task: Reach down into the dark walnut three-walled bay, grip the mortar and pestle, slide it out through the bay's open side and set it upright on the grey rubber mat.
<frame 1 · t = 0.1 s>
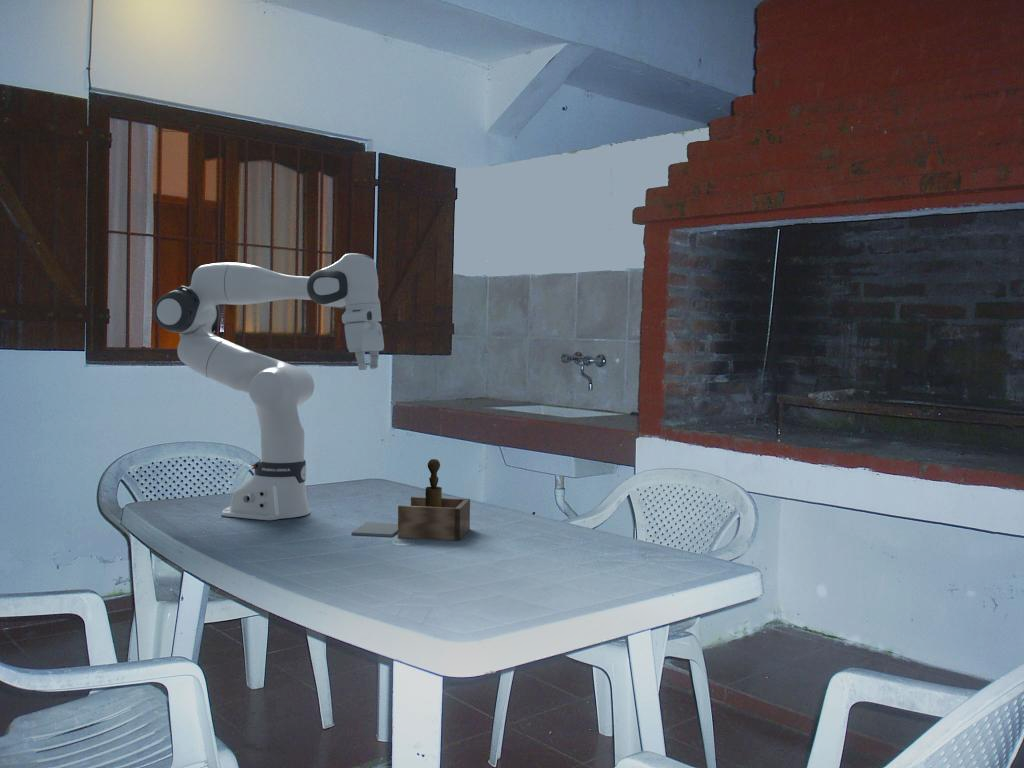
hand: (368, 369, 229), 39 cm above the table, tool pointing down, fingers open, 8 cm apart
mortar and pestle: (432, 534, 214), resting in walnut bay
walnut bay: (433, 533, 214), on the table
grey rubber mat: (379, 530, 216), on the table
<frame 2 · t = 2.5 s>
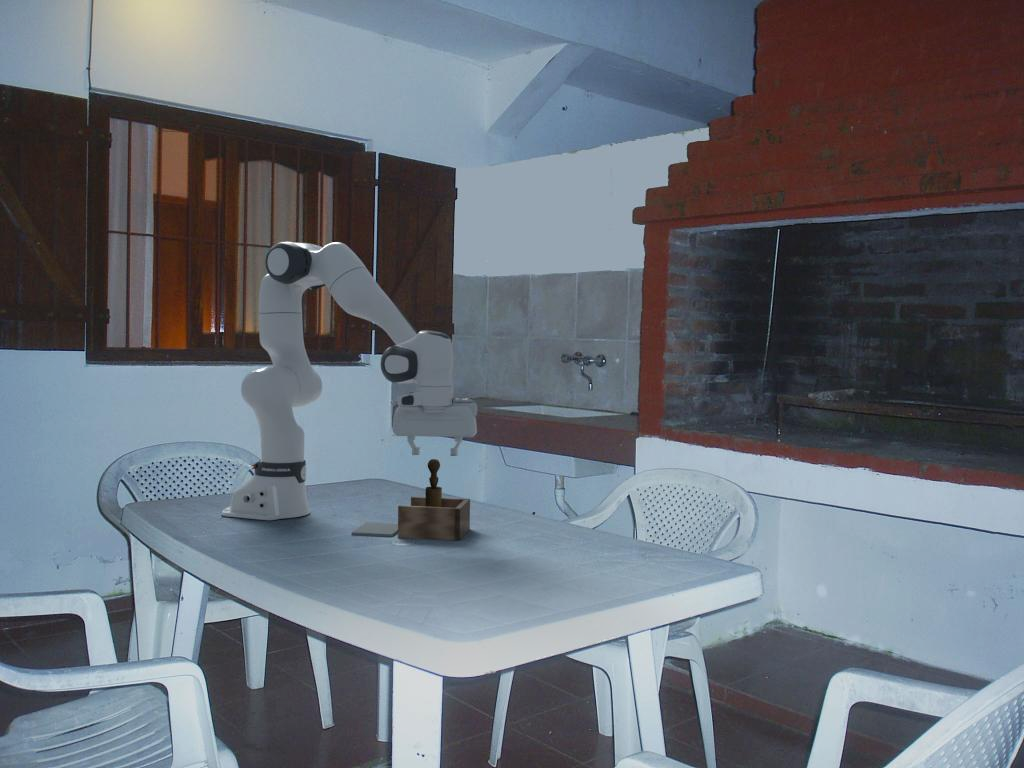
hand: (434, 455, 213), 19 cm above the table, tool pointing down, fingers open, 8 cm apart
nothing on the table moved.
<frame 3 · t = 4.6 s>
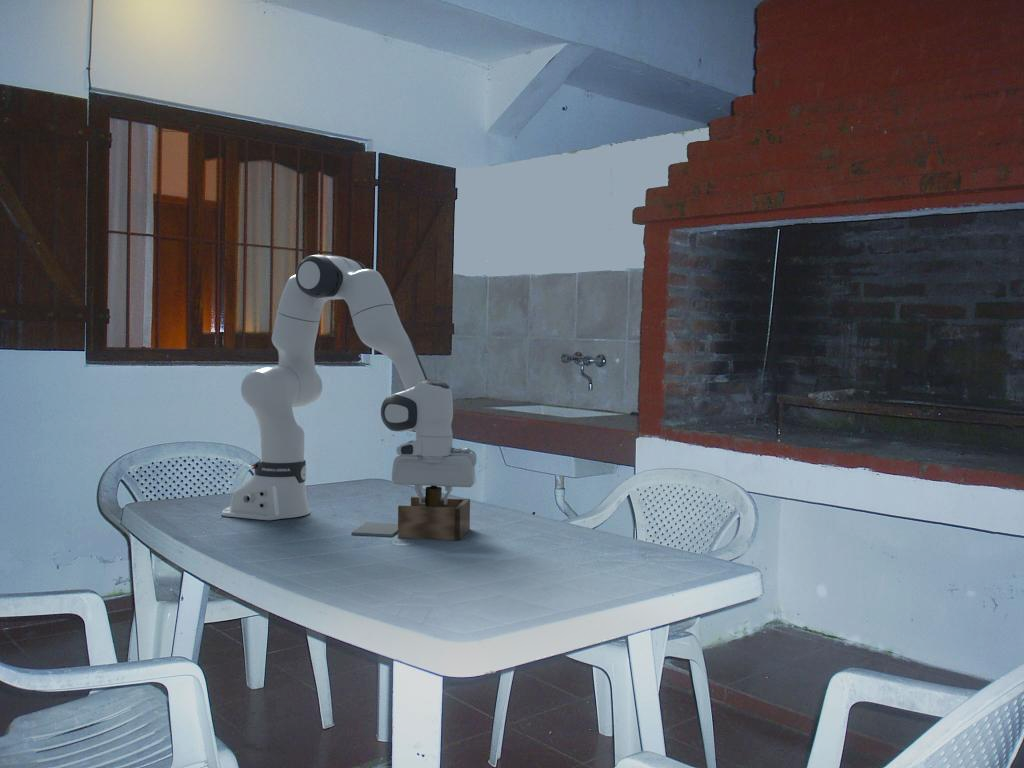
hand: (433, 504, 214), 7 cm above the table, tool pointing down, fingers closed on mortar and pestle, 4 cm apart
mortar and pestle: (433, 533, 214), resting in walnut bay, touching gripper
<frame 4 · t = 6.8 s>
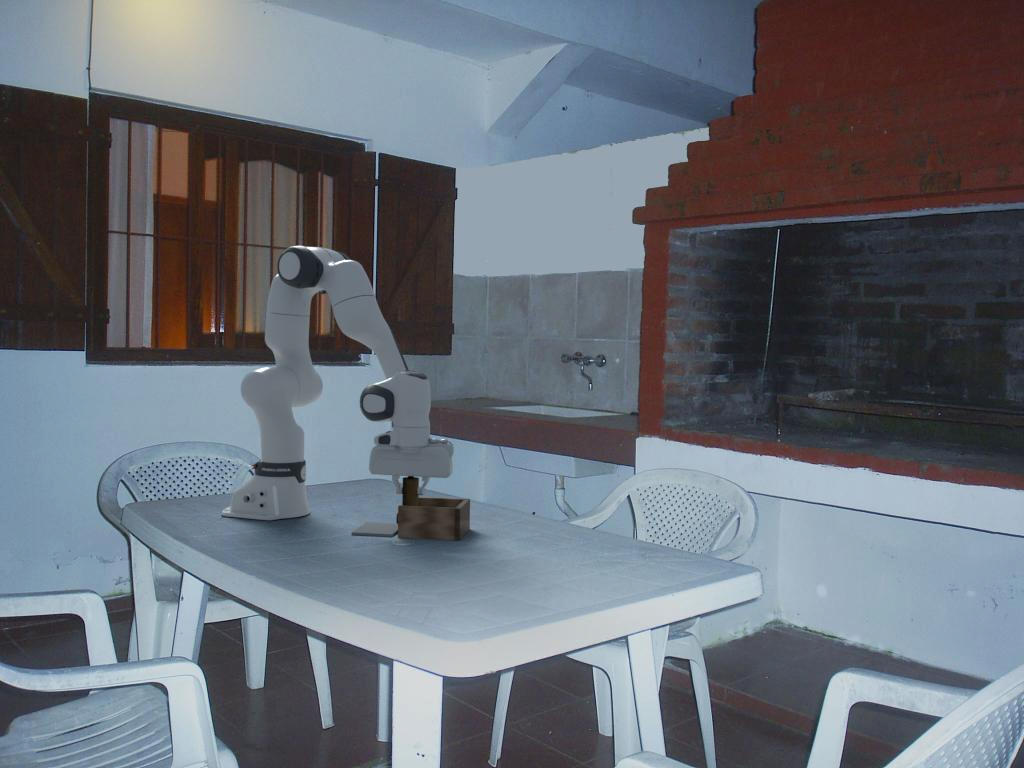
hand: (410, 494, 215), 9 cm above the table, tool pointing down, fingers closed on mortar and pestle, 4 cm apart
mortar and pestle: (409, 524, 215), point 2 cm above the table, touching gripper
when the fingers open (8 cm above the table, at t = 9.3 s): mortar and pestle stays where it is, resting on grey rubber mat.
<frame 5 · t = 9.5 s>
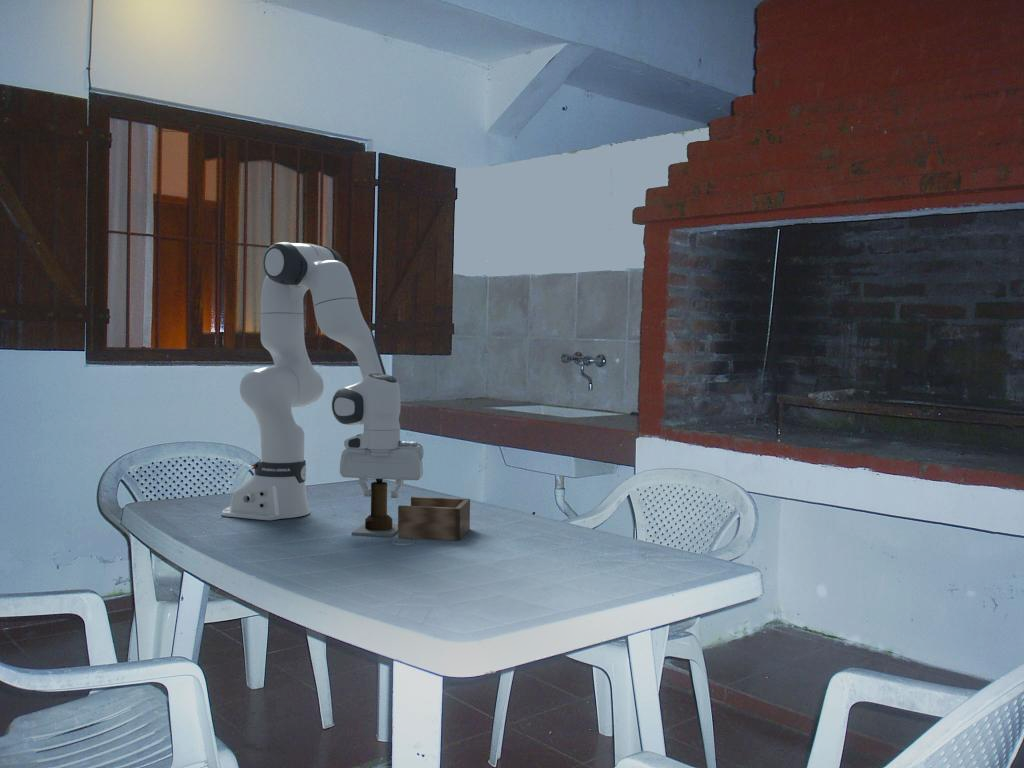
hand: (381, 497, 216), 8 cm above the table, tool pointing down, fingers open, 5 cm apart
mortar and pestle: (378, 528, 216), resting on grey rubber mat
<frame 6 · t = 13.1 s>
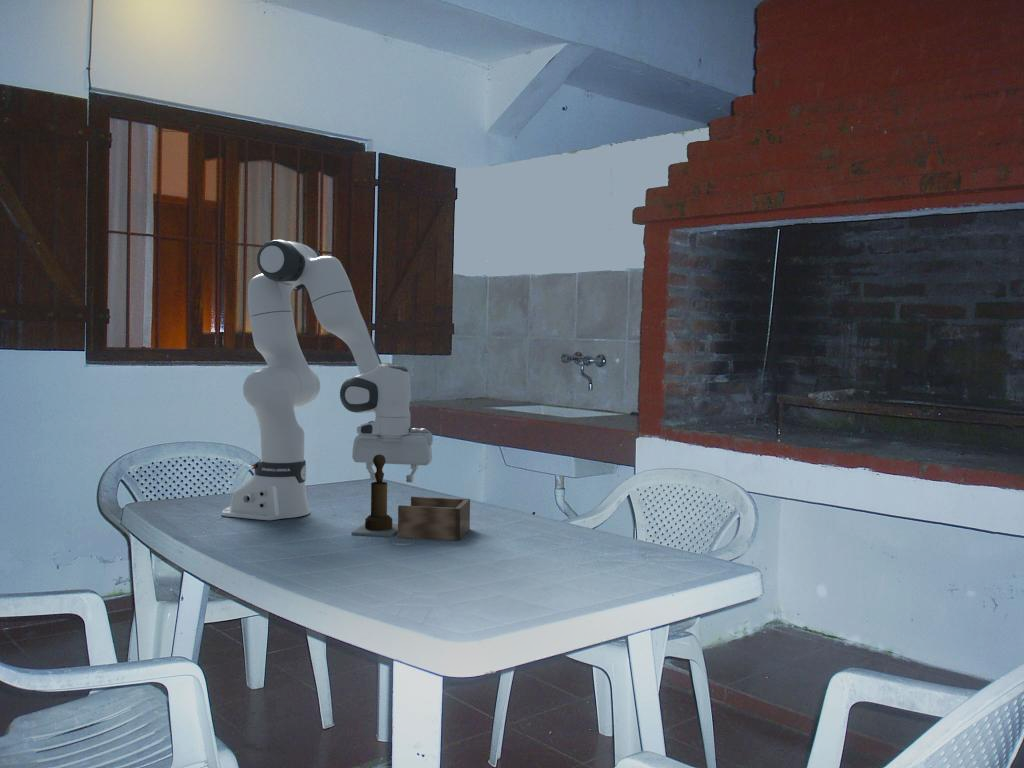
hand: (391, 481, 225), 11 cm above the table, tool pointing down, fingers open, 8 cm apart
nothing on the table moved.
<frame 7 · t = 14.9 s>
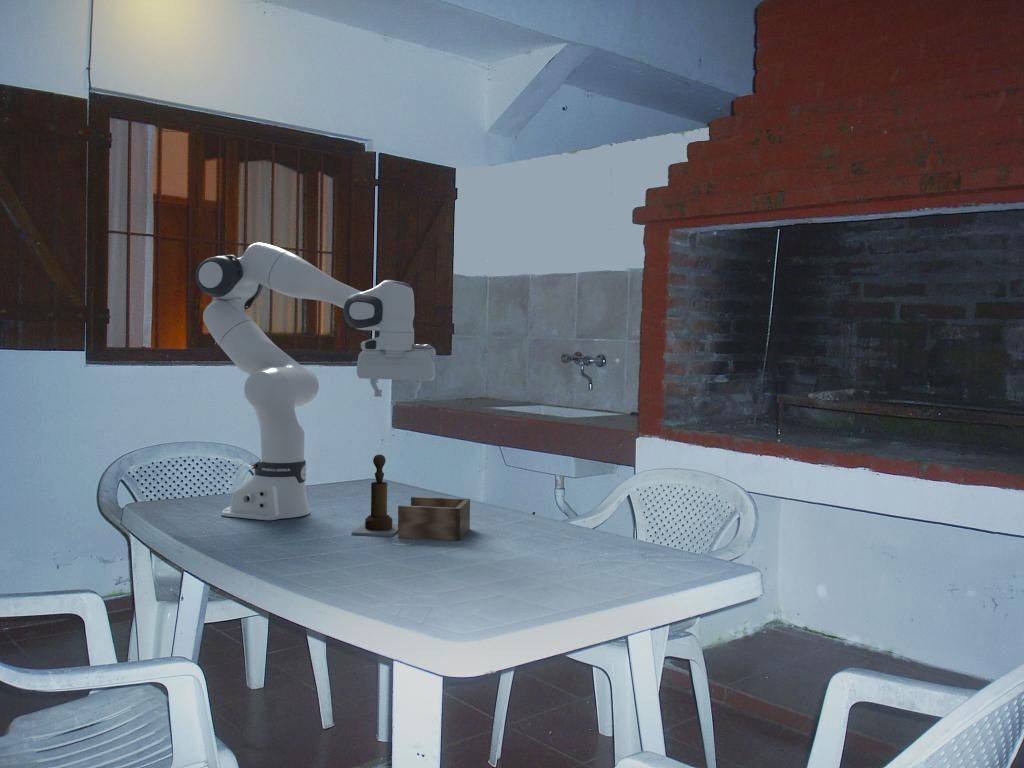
hand: (395, 397, 228), 32 cm above the table, tool pointing down, fingers open, 8 cm apart
nothing on the table moved.
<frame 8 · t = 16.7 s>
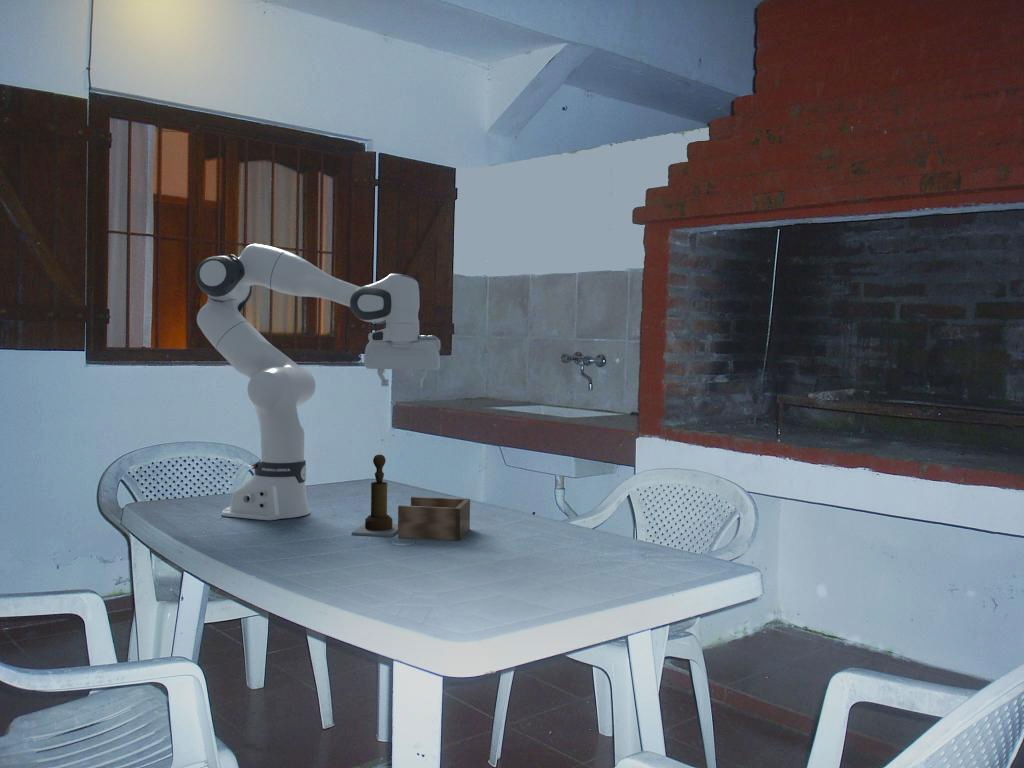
hand: (402, 386, 236), 34 cm above the table, tool pointing down, fingers open, 8 cm apart
nothing on the table moved.
at the end: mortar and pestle inside the target area (0.6 cm from its centre), resting on grey rubber mat; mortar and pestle tilted 0°; the gripper is holding nothing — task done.
